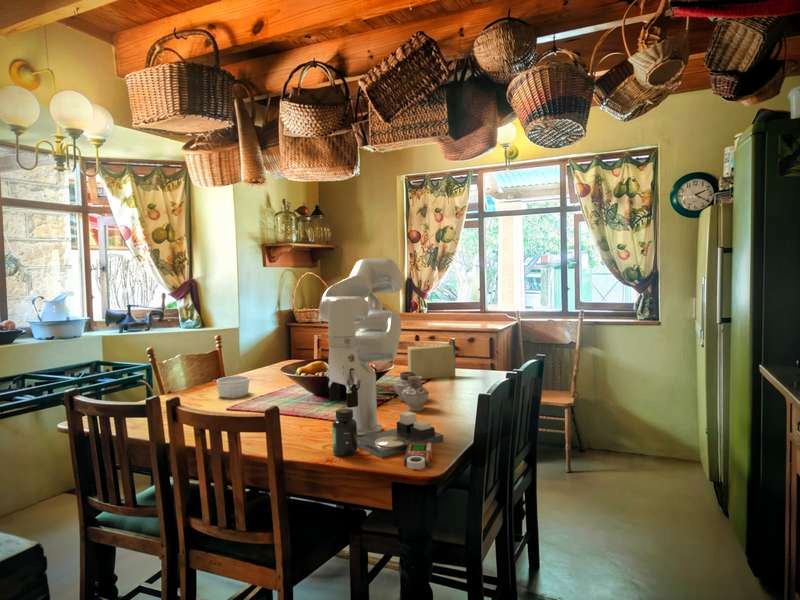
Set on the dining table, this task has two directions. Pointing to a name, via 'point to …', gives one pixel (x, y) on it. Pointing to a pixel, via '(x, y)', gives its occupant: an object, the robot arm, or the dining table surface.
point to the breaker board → (397, 439)
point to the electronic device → (418, 455)
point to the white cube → (422, 425)
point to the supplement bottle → (344, 433)
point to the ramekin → (233, 386)
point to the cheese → (432, 361)
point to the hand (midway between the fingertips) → (343, 403)
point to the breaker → (407, 418)
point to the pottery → (411, 391)
